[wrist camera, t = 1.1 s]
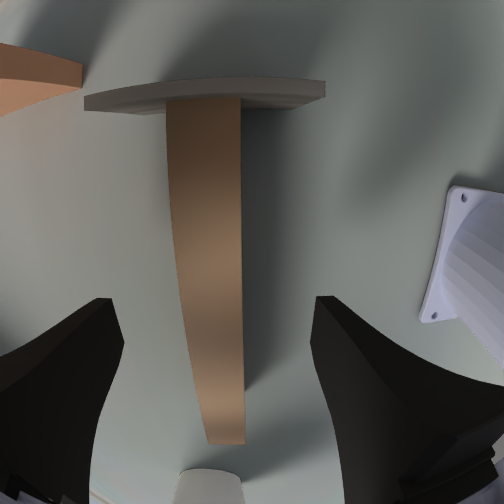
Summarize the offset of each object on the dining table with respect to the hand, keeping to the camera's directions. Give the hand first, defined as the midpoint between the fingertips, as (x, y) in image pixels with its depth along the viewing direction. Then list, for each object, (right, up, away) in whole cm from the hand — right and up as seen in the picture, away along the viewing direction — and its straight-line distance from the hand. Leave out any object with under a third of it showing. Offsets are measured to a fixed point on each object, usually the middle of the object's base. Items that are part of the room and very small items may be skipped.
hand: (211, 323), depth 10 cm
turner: (0, +1, +4) cm, 4 cm away
